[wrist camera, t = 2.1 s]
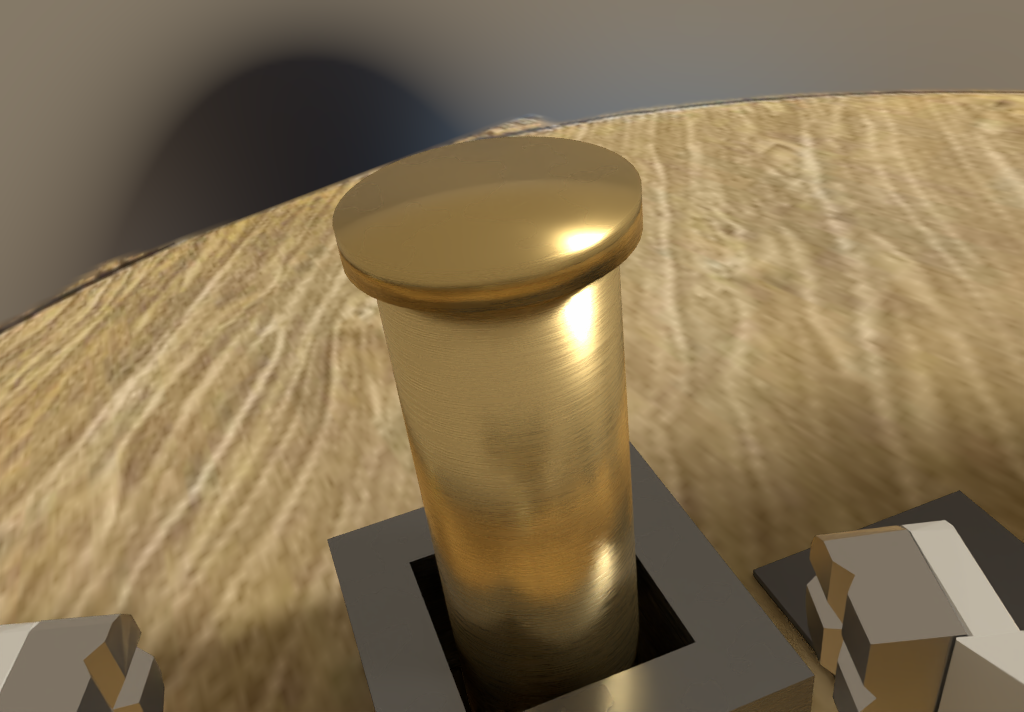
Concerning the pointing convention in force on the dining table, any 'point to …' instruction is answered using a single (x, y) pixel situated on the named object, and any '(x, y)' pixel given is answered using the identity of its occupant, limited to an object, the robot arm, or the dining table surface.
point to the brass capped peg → (513, 396)
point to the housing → (662, 622)
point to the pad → (1000, 555)
